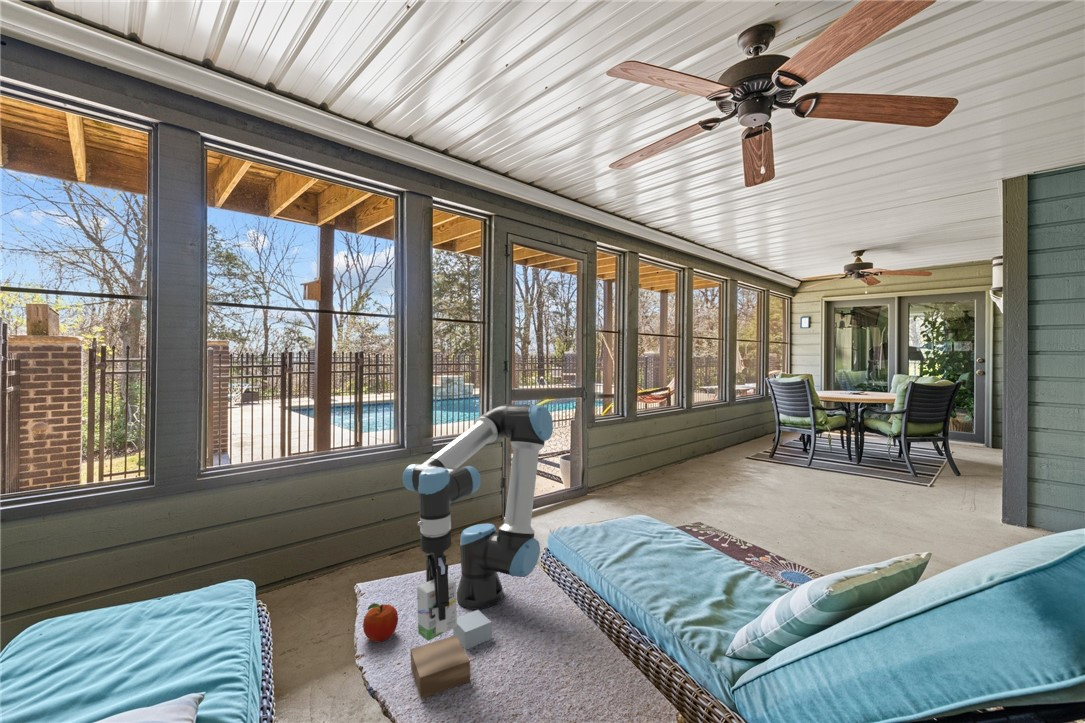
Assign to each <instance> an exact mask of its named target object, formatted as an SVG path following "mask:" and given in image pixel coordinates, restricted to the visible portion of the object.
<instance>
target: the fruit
mask: <svg viewBox="0 0 1085 723" xmlns="http://www.w3.org/2000/svg"><path fill="white" fill-rule="evenodd" d="M398 615H399V614H398V611H397V609H396V608H395V607H394V606H393V605H391V604H383V603H382V604H380V605H379V603H376V602H374V603H372V604H370V605H369V606H368V607H367V613H365V615H364V618H363V621H362V622H363V623H362V628H363V632H364V634H365V637H366V638H367V639H368V640H369V641H371V642H374V643H379V642H384V641H386V640H388V639H390V638H391V636H392V635H393V634H394V632H395V631H396V629H397V626H398V624H399V616H398Z"/></svg>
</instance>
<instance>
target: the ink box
mask: <svg viewBox="0 0 1085 723" xmlns="http://www.w3.org/2000/svg"><path fill="white" fill-rule="evenodd" d="M448 590H449V606H447V631H444V632H441V633H437V634H436V628H435V608H433V605H436V597H435V586H434V579H433V580H431V581H428V582H424V583H421V584H419V585H418V586H417V587H416V597H417V598H416V599H417V600H416V601H417V628H418V629H417V631H418V632H417V633H418V635H419V636H421V637H422V638H423V639H425V640H426V641H432V640H433V639H435V638H437V637H439V636H441V635H443V634H445V633H448V632H449V631H450V630H453V628H455V627H457V617H458V615H457V612H458V611H457V609H458V608H457V581H456V580H454V579H453V578H451V577H450V576H448Z"/></svg>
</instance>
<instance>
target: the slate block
mask: <svg viewBox="0 0 1085 723" xmlns="http://www.w3.org/2000/svg"><path fill="white" fill-rule="evenodd" d="M492 629H493V628H492V621H491V620H490V619H489V618H488V617H487V616H485V615H484V614H483V613H482V612H481V611H480V609H475V610H474V611H471V612H468V613H465V614H462V615H461V616H457V627H455V628H453V629H452V630H453V636H455V635H456V636H457V638H458V640H459V641H460V643H461V645H462V647H463V649H464V650H465V651H467V650H469V649H471V648H473V647H475V646H478V644H479V645H481V644H483V643H485V641H486V642H487V640H488V641H490V640H492V639H493V635H492V632H493V631H492ZM491 638H492V639H491ZM489 639H490V640H489ZM482 642H483V643H482Z"/></svg>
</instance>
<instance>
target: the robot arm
mask: <svg viewBox="0 0 1085 723" xmlns="http://www.w3.org/2000/svg"><path fill="white" fill-rule="evenodd" d="M553 430H554V423H553V418H552V414H551V412H550V410H548V408H547V407H545V406H544V405H541V404H540V405H539V404H512V403H507V404H502V405H499V406H496V407H495V408H491V409H489V410H488V411H486V412H484V413H483V414H482V415H480V416H478V417H477V418H476V419H475V420H474V423H473V425H472V426H470V427H469V428H468V429H467V430H465V431H464V432H463V433H461V434H460V435H459V436H457V437H455V439H453V440H452V441H451V442H450V443H449V442H448V444H447V445H445V446H444V447H442V448H441V449H440V450H439V451H438V452H435V454H433V455H431V457H430V458H428V459H427V460H425V461H424V462H423V463H411V464H409V465H407V467H406V468H405V469H404V471H403V473H402V484H403V486H404V488H405V489H406V490H409V491H412V492H415V493H418V503H419V521H417V526H419V531H420V533H421V534H420V536H419V541H420V548H419V549H420V550H421V552H424V553H425V561H426V562H425V563H426V564H425V568H426V570H425V571H426V572H425V576H426V580H425V581H426V582H428V581H431V580H433V579H434V586H435V597H436V605H433V608H435V628H436V634H437V633H441V632H444V631H447V606H449V590H448V577H449V565H448V564H447V557H446V555H445V554H444V552H445V551H447V550H449V549H450V547H452V531H451V529H452V522H451V520H452V517H451V504H452V503H453V502H456V501H457V500H461V499H463V498H465V497H468V496H470V495H472V494H473V493H475V492H477V491H479V488H480V486H481V482H482V481H481V480H482V479H481V478H482V477H481V474H480V472H479V471H478V470H477V468H475V467H474V466H471V465H467V466H462V465H463V464H464V463H465V462H467V461H468V460H469V459H470V458H471V457H473V456H474V455H475V454H476V453H477V452H479V450H481V449H482V448H483V447H485V446H486V445H487V444H491V443H493V442H495V441H496V440H497V439H502V438H503V439H504V438H508V439H510V440H509V444H510V445H511V446H512V447H513V450H512V458H511V467H510V474H509V482H508V491H507V499H506V504H505V505H506V507H505V515H504V521H503V524H501V525H500V526H499V527H498V530H497V528H496V525H494V523H479V524H475V525H471V526H469V527H467V528H465V529H464V530H462V532H461V534H460V543H459V547H460V548H459V549H460V568H461V576H460V580H459V583H458V586H457V589H456V603H457V604H458V605H460V606H462V607H463V608H466V609H472V610H480V609H481V610H482V609H485V608H490V607H492V606H494V605H496V604H498V603H500V601H501V600H502V599H503V596H504V592H503V591H504V589H503V585H502V581H501V580H500V577H499V574H498V573H501V574H504V575H508V576H511V577H517V578H526V577H528V576H529V575H531V573H532V572H533V571H534V570H535V568H536V566H537V564H538V561H539V557H540V553H541V552H540V551H541V547H540V542H539V540H537V538H535V533H536V532H535V530H534V529H533V528H532V517H533V516H532V515H533V509H534V508H533V506H534V499H535V490H536V480H537V473H538V472H537V471H538V463H539V454H540V451H541V450H542V449H543V448H544V447H545V442H546V441H548V440H550V439H551V438H552V435H553ZM460 466H461V467H460ZM459 467H460V468H459ZM426 582H425V583H426ZM447 632H448V631H447Z"/></svg>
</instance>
